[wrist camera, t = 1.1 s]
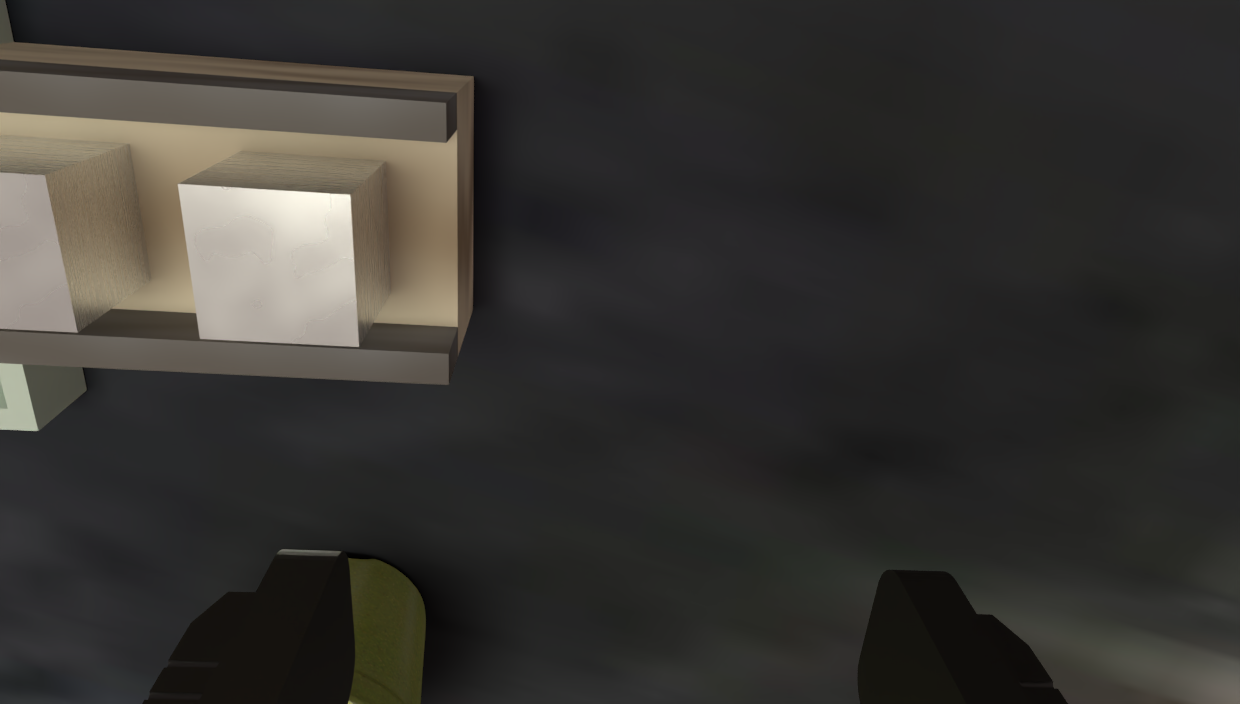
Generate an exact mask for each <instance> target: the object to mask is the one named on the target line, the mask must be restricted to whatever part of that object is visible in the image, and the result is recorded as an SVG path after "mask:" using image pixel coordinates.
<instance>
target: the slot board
mask: <svg viewBox="0 0 1240 704" xmlns="http://www.w3.org/2000/svg"><path fill="white" fill-rule="evenodd" d="M0 135H9V136H24V137H39V138H54V139H69V140H84V141H99V142H114V143H129V144H130V150H131V156H132V162H133V168H134V174H135V181H136V187H137V193H138V199H139V205H140V211H141V217H142V223H143V229H144V235H145V242H146V248H147V254H148V260H149V266H150V272H151V278H152V280H151V281H149V282H148V283H147V284H145V285H144V286H142V287H141V288H139V289H138V290H137V291H135V292H134V293H132V294H131V295H130V296H128V297H127V298H125V299H124V300H123V301H121V302H120V303H118V304H117V305H116V306H114V307H113V308H111V309H110V310H109V311H107V312H106V313H104V314H103V315H102V316H100V317H99V318H97V319H96V320H95V321H93V322H92V323H90V324H89V325H88V326H86V327H85V328H83V329H82V330H81V331H79V332H78V333H75V332H56V331H36V330H17V329H0V363H6V364H26V365H47V366H68V367H88V368H109V369H130V370H150V371H171V372H192V373H212V374H233V375H254V376H274V377H295V378H316V379H336V380H357V381H378V382H398V383H419V384H440V385H449V383H450V380H451V377H452V373H453V370H454V367H455V364H456V361H457V358H458V355H459V352H460V348H461V345H462V342H463V339H464V336H465V333H466V330H467V327H468V324H469V320H470V317H471V314H472V311H473V173H474V76H462V75H449V74H436V73H422V72H409V71H395V70H382V69H368V68H355V67H342V66H328V65H315V64H301V63H288V62H274V61H261V60H248V59H234V58H221V57H207V56H194V55H180V54H167V53H154V52H140V51H127V50H113V49H100V48H86V47H73V46H60V45H46V44H33V43H19V42H11V43H2V44H0ZM240 151H249V152H264V153H279V154H294V155H309V156H324V157H338V158H353V159H368V160H383V161H386V176H387V202H388V227H389V253H390V278H391V294H390V296H389V297H388V299H387V301H386V302H385V304H384V306H383V308H382V309H381V311H380V313H379V314H378V316H377V318H376V319H375V321H374V323H373V324H372V326H371V328H370V329H369V331H368V333H367V334H366V336H365V338H364V340H363V341H362V343H361V345H360V346H359V347H349V346H330V345H310V344H290V343H271V342H251V341H232V340H212V339H200V336H199V329H198V322H197V315H196V308H195V301H194V294H193V287H192V280H191V273H190V266H189V260H188V253H187V246H186V239H185V232H184V225H183V218H182V211H181V204H180V197H179V190H178V183H180V182H182V181H184V180H186V179H188V178H190V177H192V176H194V175H196V174H197V173H199V172H201V171H203V170H205V169H207V168H209V167H211V166H213V165H215V164H217V163H219V162H220V161H222V160H224V159H226V158H228V157H230V156H232V155H234V154H236V153H238V152H240Z"/></svg>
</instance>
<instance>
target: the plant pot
mask: <svg viewBox="0 0 1240 704" xmlns="http://www.w3.org/2000/svg"><path fill="white" fill-rule="evenodd" d="M348 560H349V568H350V582H351V595H352V609H353V623H354V637H355V667H354V676H353V683H352V688H351V693H350V697H349V701H348V704H421V689H422V673H423V658H424V644H425V631H426V615H425V606H424V602H423V599H422V597H421V595H420V593H419V591H418V590H417V588H416V587H415V586H414V584H413V583H412V582H411V581H410V580H409V579H408V578H407V577H406V576H405V575H403V574H402V573H401V572H400V571H398V570H397V569H395V568H394V567H392V566H390V565H388V564H386V563H384V562H382V561H379V560H376V559H351V558H348Z"/></svg>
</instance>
